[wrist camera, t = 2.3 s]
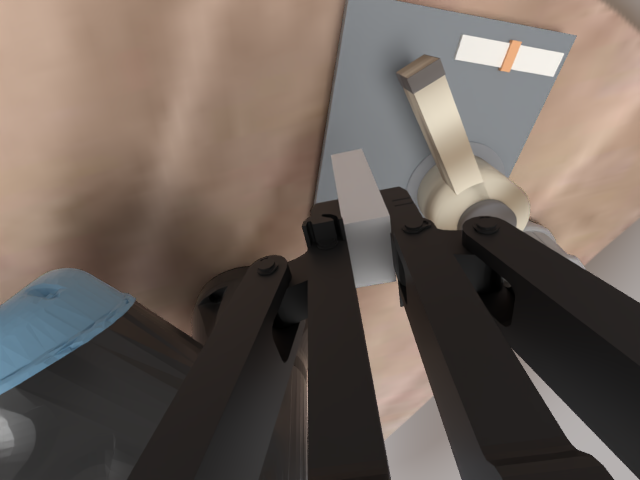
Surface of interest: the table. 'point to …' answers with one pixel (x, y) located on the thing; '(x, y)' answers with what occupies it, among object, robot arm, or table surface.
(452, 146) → the lever
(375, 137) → the grey base plate
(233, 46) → the table surface
